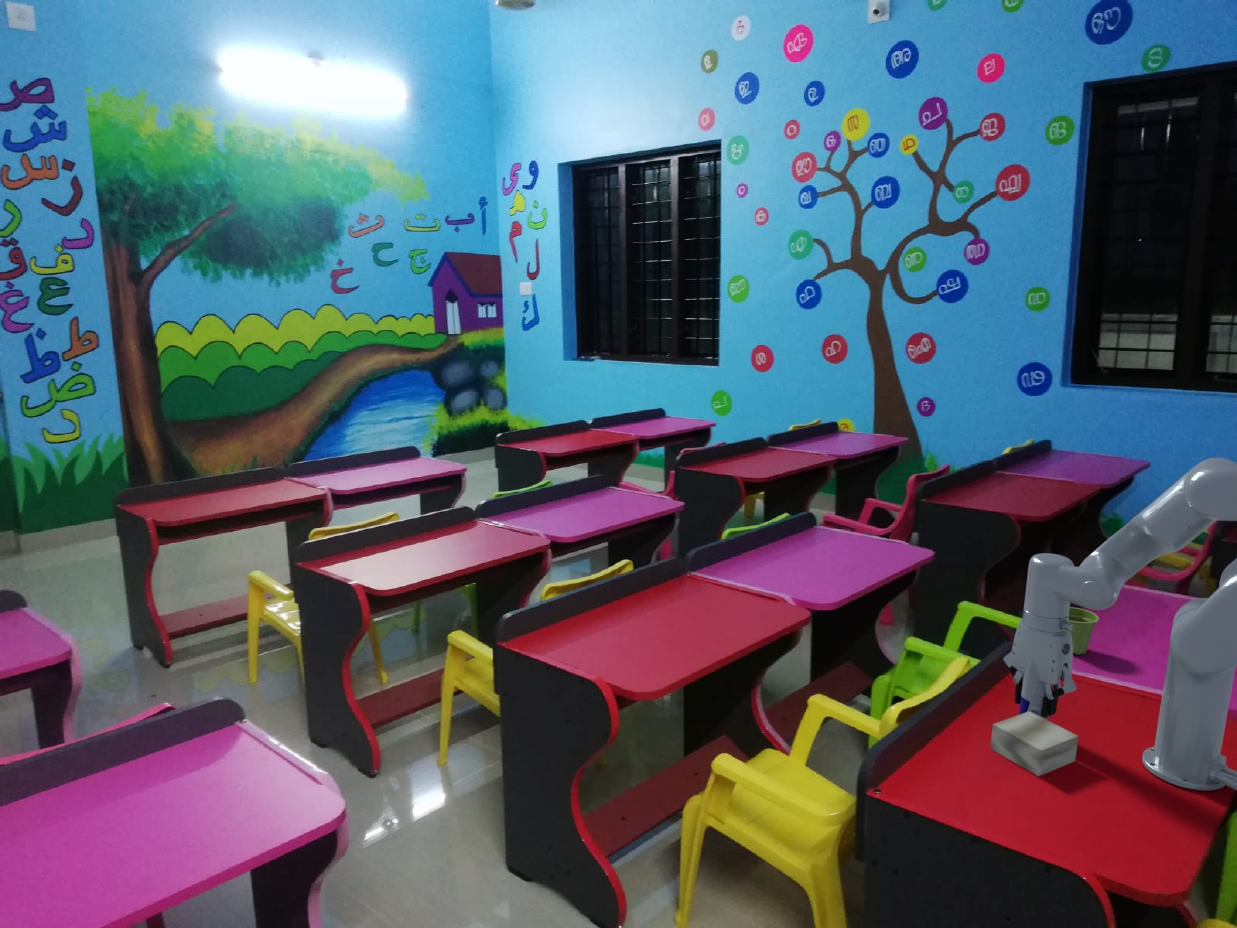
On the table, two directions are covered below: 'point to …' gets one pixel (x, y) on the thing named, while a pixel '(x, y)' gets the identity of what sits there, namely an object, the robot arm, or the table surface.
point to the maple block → (1034, 743)
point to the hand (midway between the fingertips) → (1034, 707)
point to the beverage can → (1032, 691)
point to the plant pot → (1081, 628)
